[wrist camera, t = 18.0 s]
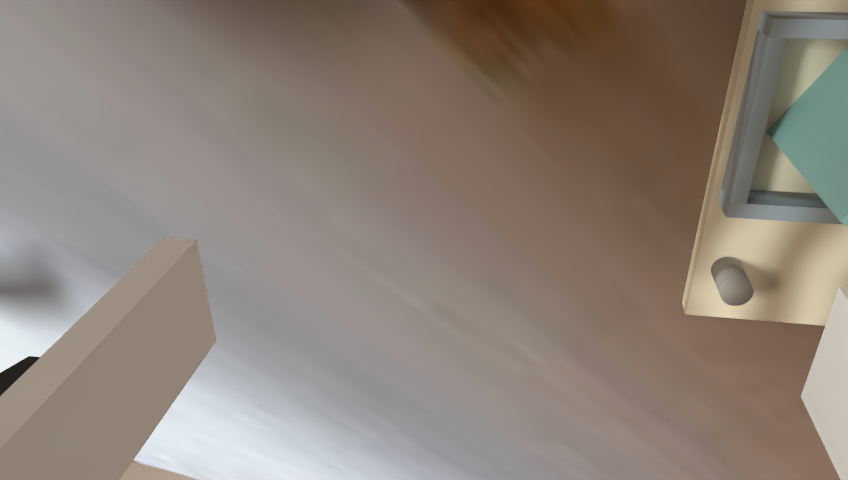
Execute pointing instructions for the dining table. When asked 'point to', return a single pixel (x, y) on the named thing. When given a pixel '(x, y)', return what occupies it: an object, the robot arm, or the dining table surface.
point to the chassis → (769, 179)
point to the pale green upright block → (820, 136)
